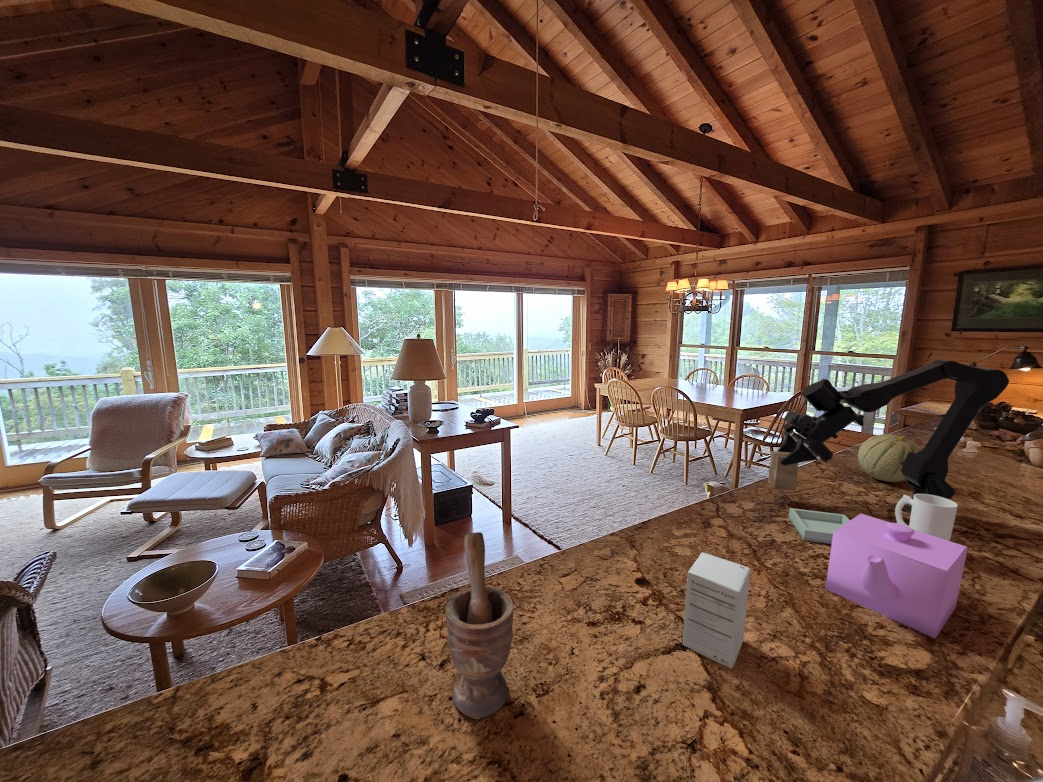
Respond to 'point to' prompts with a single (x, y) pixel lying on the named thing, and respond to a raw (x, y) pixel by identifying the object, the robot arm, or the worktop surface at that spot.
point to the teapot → (896, 572)
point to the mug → (929, 514)
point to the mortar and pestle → (479, 637)
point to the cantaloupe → (885, 456)
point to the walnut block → (782, 472)
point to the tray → (816, 524)
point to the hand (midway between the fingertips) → (778, 460)
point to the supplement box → (716, 608)
